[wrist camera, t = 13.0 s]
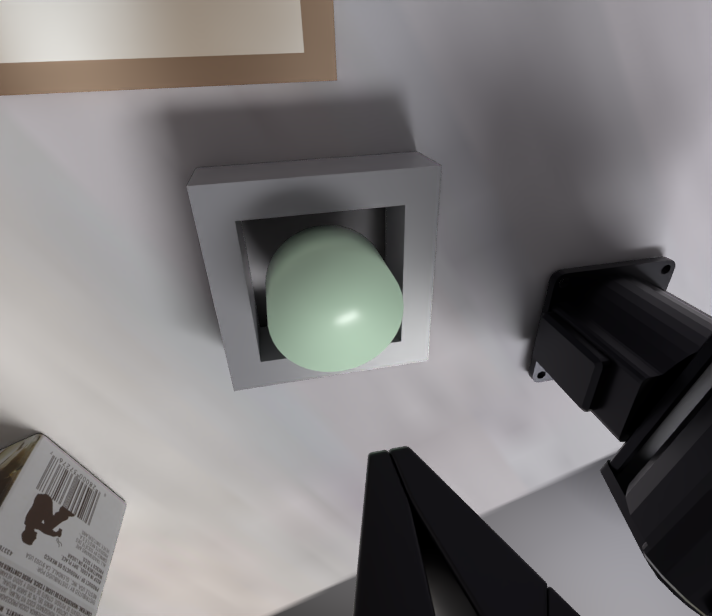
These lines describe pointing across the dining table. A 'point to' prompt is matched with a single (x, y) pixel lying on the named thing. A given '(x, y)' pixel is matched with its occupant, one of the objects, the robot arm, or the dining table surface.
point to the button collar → (310, 196)
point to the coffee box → (53, 532)
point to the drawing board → (162, 44)
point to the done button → (331, 299)
